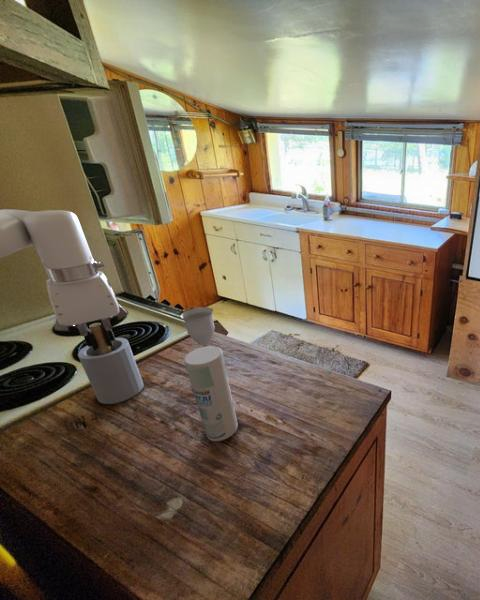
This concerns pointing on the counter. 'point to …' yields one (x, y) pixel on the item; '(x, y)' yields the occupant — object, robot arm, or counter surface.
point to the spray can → (212, 391)
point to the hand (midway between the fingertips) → (103, 345)
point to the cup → (112, 372)
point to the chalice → (199, 324)
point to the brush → (100, 338)
